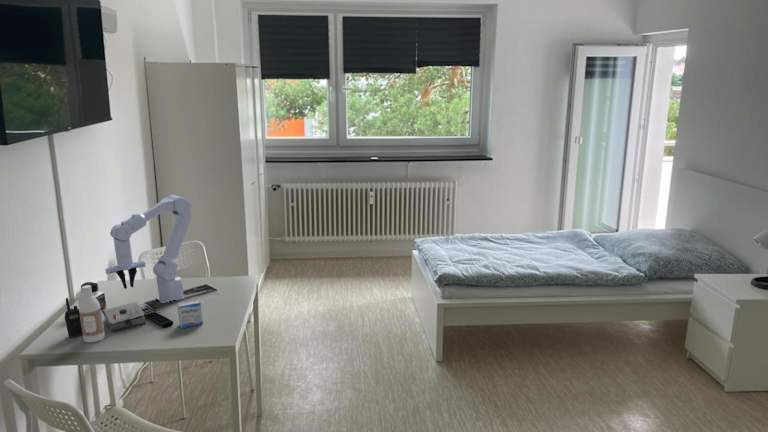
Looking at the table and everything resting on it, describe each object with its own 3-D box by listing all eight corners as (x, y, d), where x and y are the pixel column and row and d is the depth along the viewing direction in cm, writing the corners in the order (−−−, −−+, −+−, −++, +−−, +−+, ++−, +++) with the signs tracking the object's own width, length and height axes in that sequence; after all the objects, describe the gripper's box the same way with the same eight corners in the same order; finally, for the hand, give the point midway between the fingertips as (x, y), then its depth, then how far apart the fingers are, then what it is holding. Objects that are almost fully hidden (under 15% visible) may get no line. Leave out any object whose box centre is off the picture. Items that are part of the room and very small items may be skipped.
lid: (135, 303, 234) (135, 299, 234) (144, 315, 223) (143, 310, 222) (102, 312, 228) (101, 308, 227) (109, 325, 216) (108, 320, 216)
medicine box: (181, 328, 219) (178, 306, 217) (179, 324, 223) (176, 303, 221) (203, 324, 222) (200, 302, 220) (201, 320, 226) (198, 298, 224)
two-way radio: (68, 339, 213) (62, 300, 209) (66, 335, 216) (60, 296, 213) (85, 334, 216) (79, 296, 213) (83, 330, 220) (77, 292, 216)
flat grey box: (135, 310, 237) (134, 303, 236) (147, 326, 222) (146, 318, 221) (103, 318, 231) (102, 311, 230) (112, 334, 215) (111, 327, 215)
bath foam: (81, 344, 208) (72, 290, 204) (86, 336, 215) (78, 284, 210) (102, 341, 210) (94, 288, 205) (107, 333, 217) (99, 282, 212)
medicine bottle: (95, 315, 234) (90, 286, 231) (79, 314, 235) (74, 285, 233) (107, 308, 241) (102, 280, 238) (91, 307, 242) (87, 279, 239)
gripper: (106, 261, 225) (111, 294, 228) (145, 253, 233) (150, 285, 236) (102, 256, 231) (107, 289, 234) (141, 249, 239) (145, 281, 242)
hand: (128, 287), depth 235 cm, fingers closed
